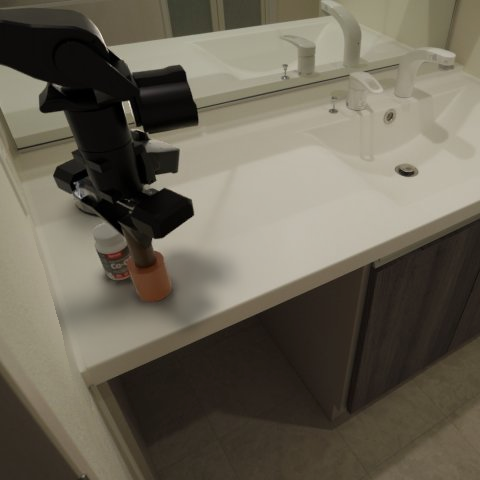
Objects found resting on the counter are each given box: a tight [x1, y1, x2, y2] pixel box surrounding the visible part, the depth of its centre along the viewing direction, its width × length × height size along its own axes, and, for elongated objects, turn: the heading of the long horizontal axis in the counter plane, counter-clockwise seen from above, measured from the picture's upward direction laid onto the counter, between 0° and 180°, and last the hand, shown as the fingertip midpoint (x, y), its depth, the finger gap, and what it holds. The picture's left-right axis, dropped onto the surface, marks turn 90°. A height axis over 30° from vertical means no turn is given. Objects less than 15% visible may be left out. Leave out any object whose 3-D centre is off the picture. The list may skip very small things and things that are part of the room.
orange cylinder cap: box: [127, 249, 173, 303], centre depth 62 cm, size 5×5×6 cm
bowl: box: [71, 179, 150, 215], centre depth 79 cm, size 13×13×3 cm
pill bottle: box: [91, 221, 132, 281], centre depth 63 cm, size 5×5×8 cm
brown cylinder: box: [121, 226, 156, 268], centre depth 57 cm, size 3×3×7 cm
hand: (139, 242), depth 57 cm, fingers closed on brown cylinder, 3 cm apart
